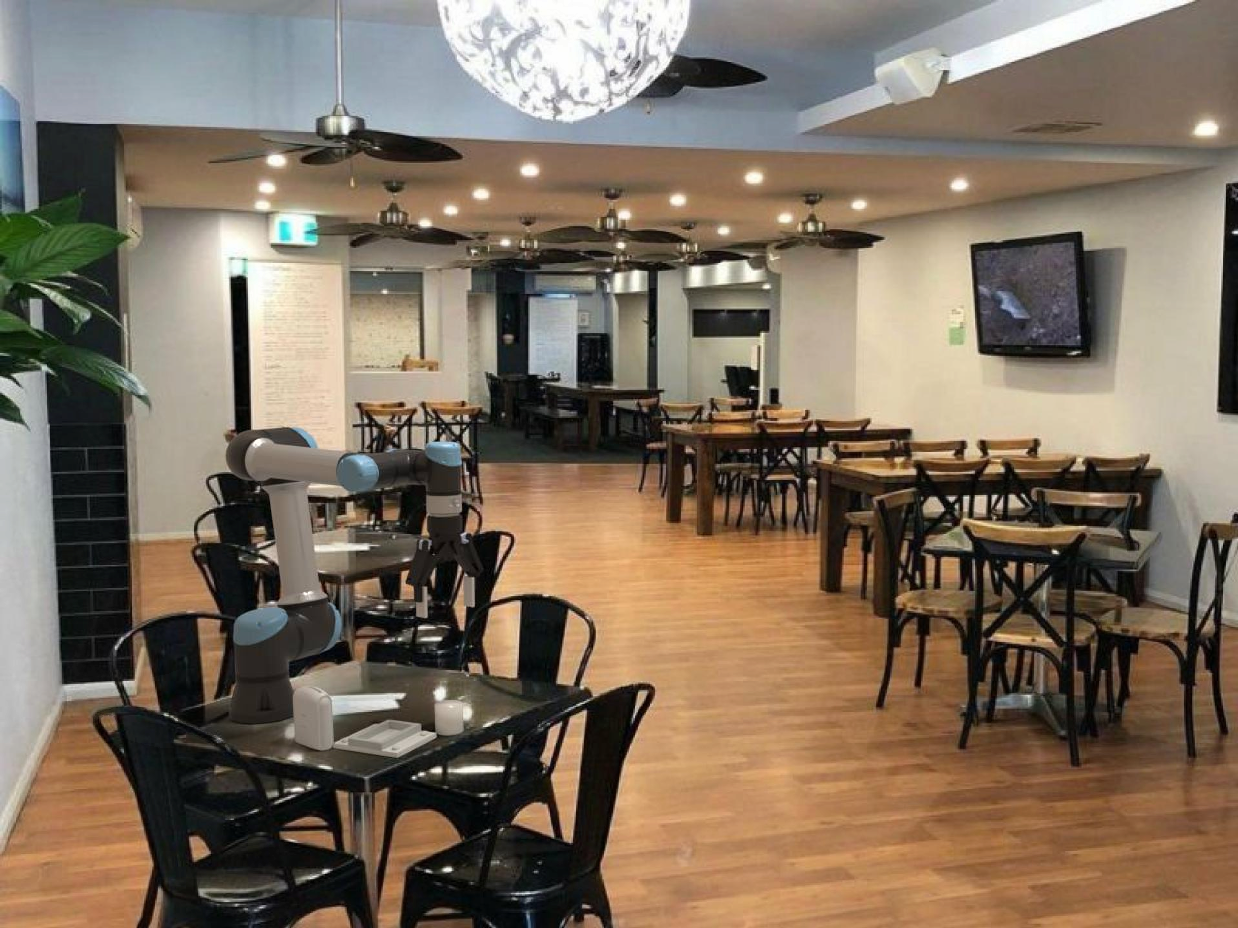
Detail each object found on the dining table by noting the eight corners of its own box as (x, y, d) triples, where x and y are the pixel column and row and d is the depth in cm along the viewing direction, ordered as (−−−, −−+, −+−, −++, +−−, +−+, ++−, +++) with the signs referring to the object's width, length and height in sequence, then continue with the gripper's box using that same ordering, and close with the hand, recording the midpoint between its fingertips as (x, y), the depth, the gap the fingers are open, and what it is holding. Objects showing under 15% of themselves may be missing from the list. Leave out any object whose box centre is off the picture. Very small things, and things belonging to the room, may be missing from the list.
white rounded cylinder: (429, 733, 256) (429, 705, 255) (445, 725, 261) (444, 698, 260) (453, 736, 253) (452, 709, 252) (468, 728, 258) (468, 701, 258)
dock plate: (333, 747, 247) (332, 736, 246) (374, 728, 259) (374, 717, 259) (397, 757, 240) (396, 745, 240) (436, 737, 252) (436, 725, 252)
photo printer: (291, 742, 251) (289, 684, 250) (309, 737, 254) (307, 680, 253) (319, 752, 244) (316, 693, 243) (336, 747, 247) (334, 689, 246)
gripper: (410, 522, 244) (412, 624, 246) (498, 509, 263) (499, 604, 265) (387, 518, 248) (389, 618, 251) (474, 506, 268) (476, 599, 270)
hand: (446, 611), depth 258 cm, fingers open, 13 cm apart
